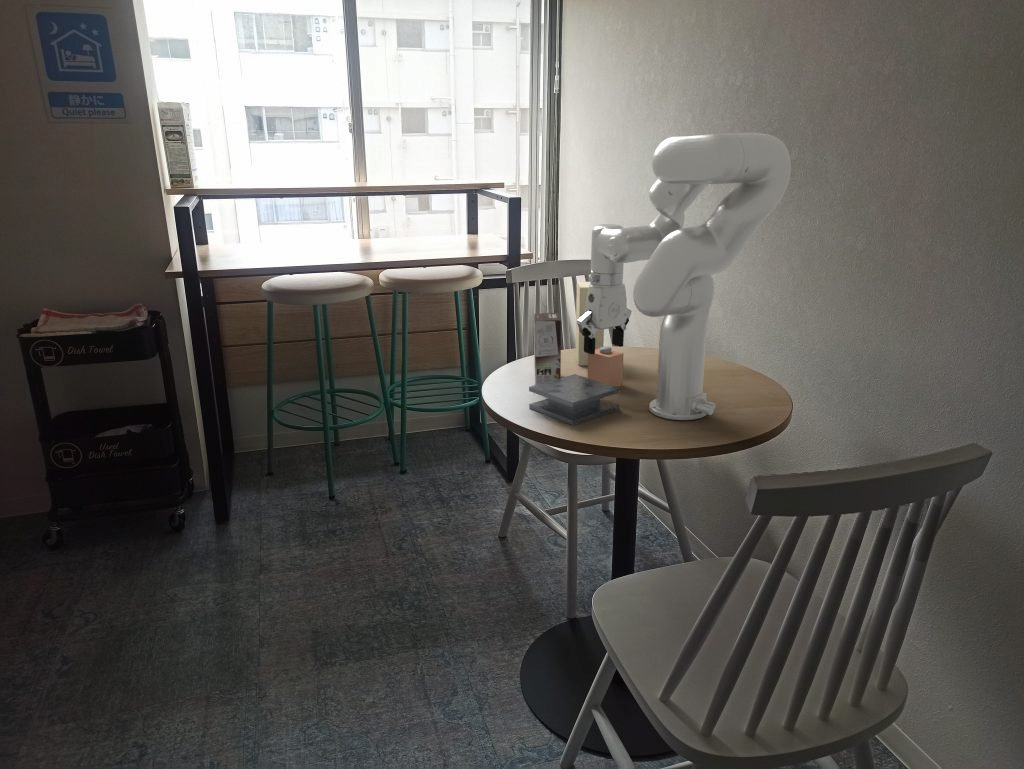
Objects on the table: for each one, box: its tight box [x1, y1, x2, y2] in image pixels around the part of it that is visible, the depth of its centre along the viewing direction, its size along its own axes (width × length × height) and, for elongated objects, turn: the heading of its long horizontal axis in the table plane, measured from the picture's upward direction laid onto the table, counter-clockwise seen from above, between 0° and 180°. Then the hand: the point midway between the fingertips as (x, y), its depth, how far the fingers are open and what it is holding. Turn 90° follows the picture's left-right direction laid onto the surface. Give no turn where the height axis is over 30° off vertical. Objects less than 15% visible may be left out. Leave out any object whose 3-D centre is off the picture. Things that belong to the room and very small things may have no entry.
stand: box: [528, 373, 621, 426], centre depth 159 cm, size 14×14×5 cm
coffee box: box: [533, 312, 562, 385], centre depth 178 cm, size 9×6×16 cm
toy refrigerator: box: [575, 281, 605, 367], centre depth 191 cm, size 8×7×21 cm
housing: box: [587, 346, 624, 387], centre depth 175 cm, size 7×5×9 cm
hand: (603, 349), depth 174 cm, fingers open, 9 cm apart
